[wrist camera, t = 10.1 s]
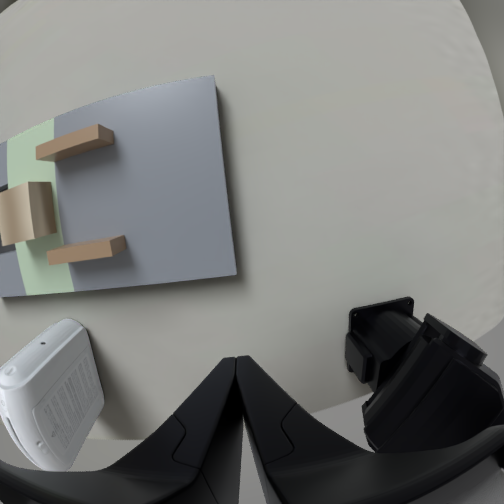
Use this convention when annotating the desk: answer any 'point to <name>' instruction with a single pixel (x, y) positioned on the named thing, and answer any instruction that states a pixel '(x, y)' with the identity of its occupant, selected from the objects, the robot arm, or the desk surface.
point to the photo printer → (52, 395)
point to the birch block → (26, 212)
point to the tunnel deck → (124, 193)
